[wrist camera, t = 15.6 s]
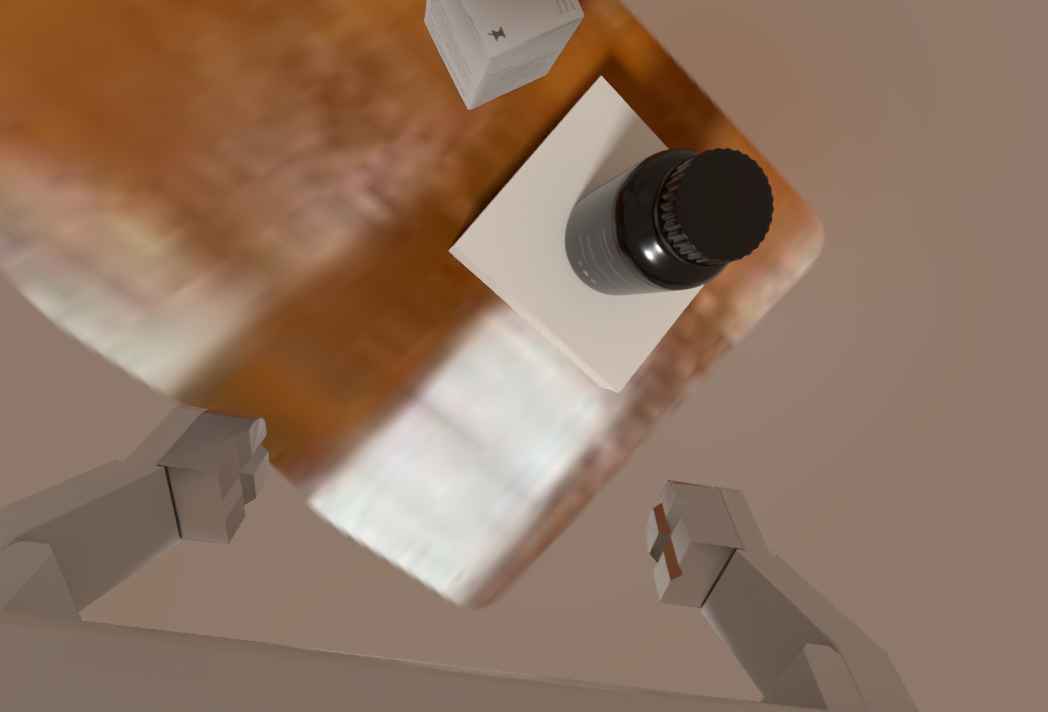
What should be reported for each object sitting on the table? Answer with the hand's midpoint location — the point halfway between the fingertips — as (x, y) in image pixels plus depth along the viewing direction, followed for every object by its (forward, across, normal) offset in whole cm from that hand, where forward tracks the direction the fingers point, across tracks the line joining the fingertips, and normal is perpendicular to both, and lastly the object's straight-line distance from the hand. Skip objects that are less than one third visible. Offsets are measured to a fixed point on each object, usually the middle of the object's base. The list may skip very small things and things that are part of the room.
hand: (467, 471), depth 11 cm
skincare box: (+32, +3, -6) cm, 32 cm away
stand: (+28, -6, +4) cm, 28 cm away
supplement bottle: (+25, -7, +3) cm, 26 cm away
